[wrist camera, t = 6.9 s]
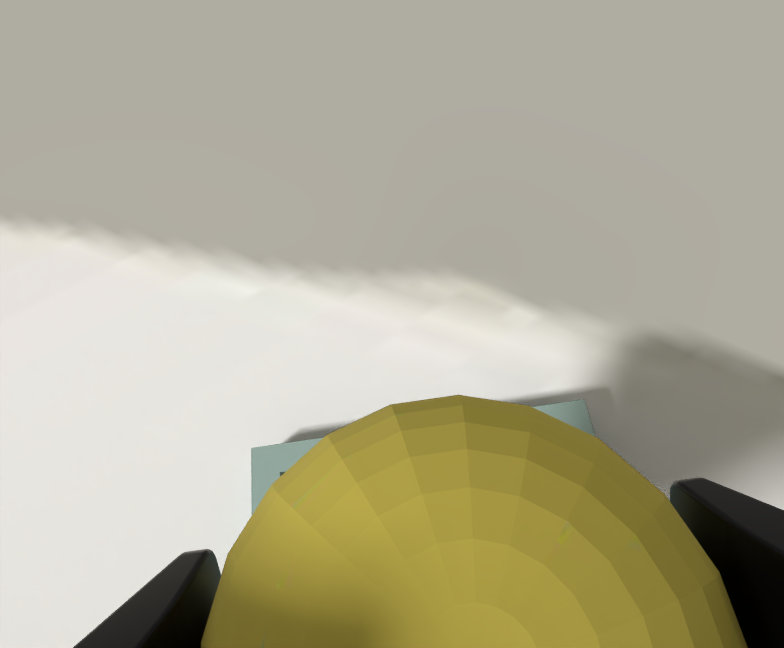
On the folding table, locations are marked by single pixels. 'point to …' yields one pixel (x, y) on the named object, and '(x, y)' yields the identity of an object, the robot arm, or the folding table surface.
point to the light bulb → (467, 543)
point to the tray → (281, 457)
